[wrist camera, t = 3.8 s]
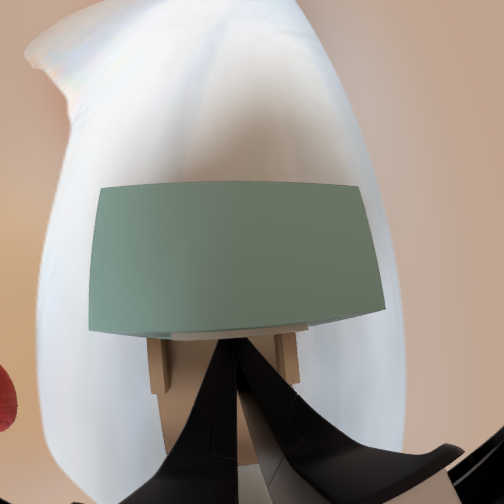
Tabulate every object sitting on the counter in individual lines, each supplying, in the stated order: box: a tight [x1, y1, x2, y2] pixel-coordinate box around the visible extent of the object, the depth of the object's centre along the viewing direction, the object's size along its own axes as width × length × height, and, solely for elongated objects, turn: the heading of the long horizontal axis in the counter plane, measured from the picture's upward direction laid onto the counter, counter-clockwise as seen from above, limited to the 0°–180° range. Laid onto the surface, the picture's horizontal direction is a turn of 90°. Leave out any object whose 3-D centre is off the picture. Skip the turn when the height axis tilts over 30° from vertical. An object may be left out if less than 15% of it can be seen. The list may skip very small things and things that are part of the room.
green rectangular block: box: [89, 181, 386, 341], centre depth 11 cm, size 3×6×12 cm, turn 95°
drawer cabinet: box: [147, 332, 300, 466], centre depth 12 cm, size 14×9×9 cm, turn 5°
